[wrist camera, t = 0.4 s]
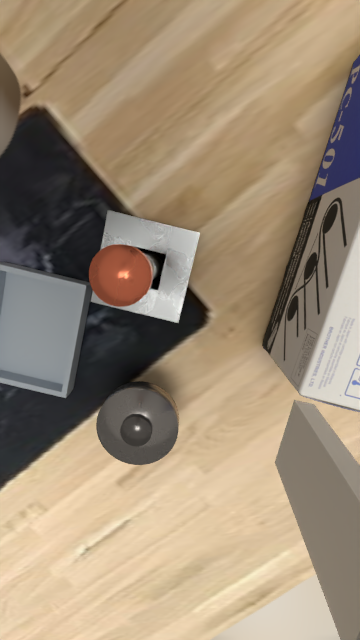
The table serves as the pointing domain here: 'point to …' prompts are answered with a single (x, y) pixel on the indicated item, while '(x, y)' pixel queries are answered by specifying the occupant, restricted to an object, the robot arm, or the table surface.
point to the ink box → (326, 274)
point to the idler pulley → (138, 423)
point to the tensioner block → (177, 264)
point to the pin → (123, 274)
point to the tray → (41, 328)
